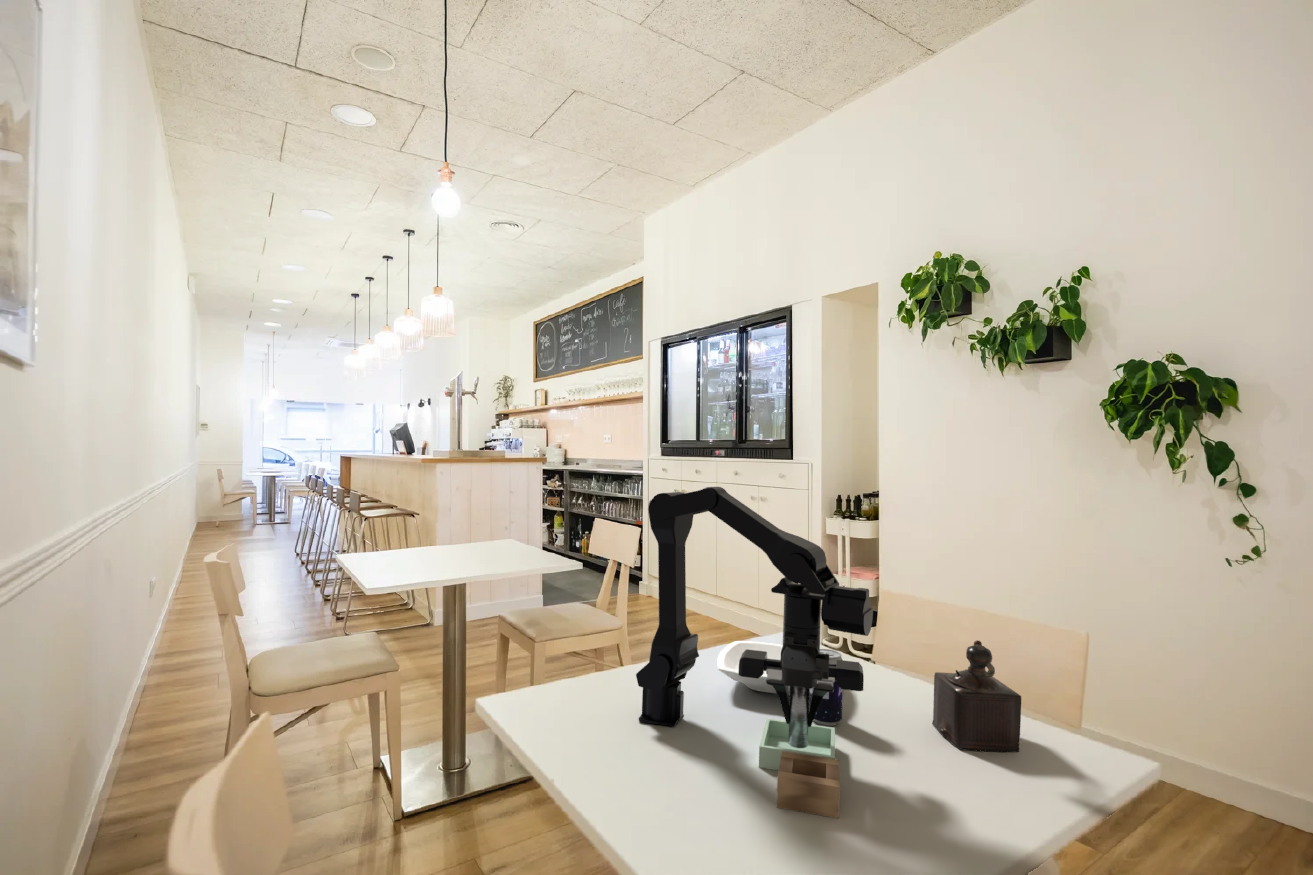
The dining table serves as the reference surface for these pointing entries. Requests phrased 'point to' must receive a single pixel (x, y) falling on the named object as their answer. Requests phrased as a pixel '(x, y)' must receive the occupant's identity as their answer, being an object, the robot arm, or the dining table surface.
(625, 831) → the dining table surface
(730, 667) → the bowl
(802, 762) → the brown square sleeve
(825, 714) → the beverage can
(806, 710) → the cylinder
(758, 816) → the dining table surface
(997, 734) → the dark brown ornamental box
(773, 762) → the tray
